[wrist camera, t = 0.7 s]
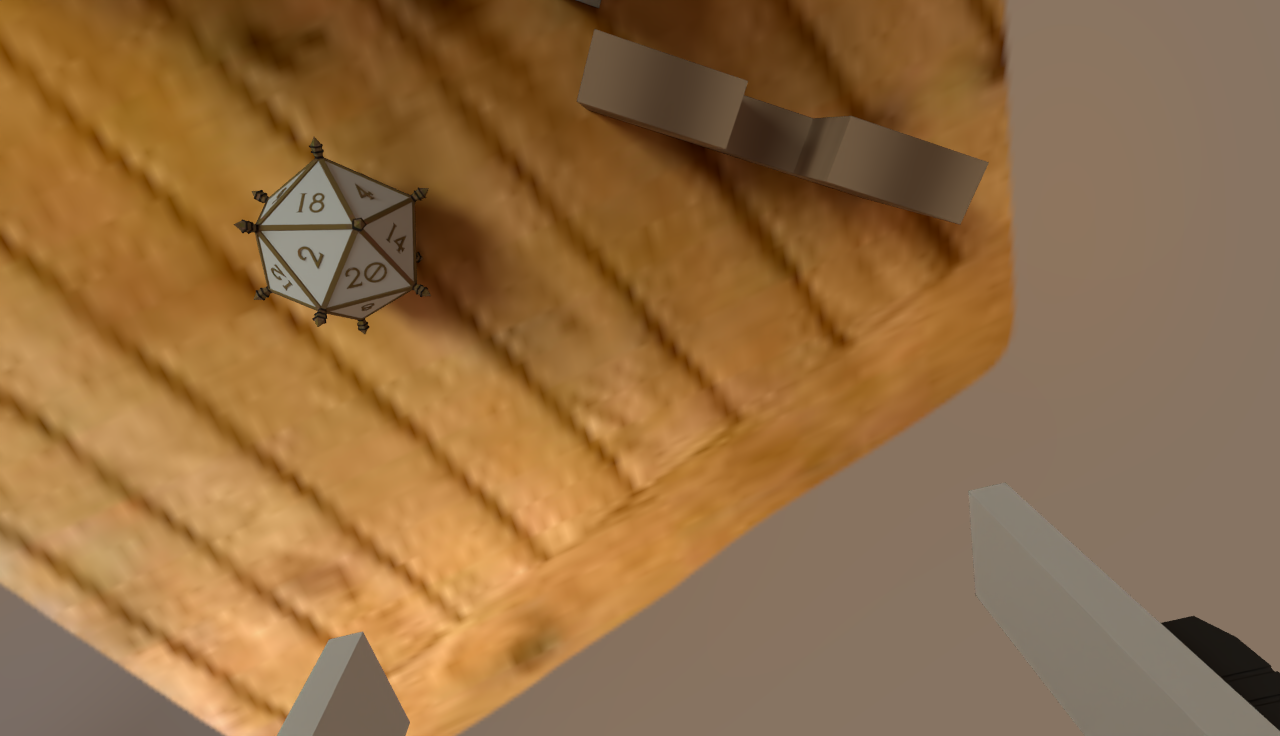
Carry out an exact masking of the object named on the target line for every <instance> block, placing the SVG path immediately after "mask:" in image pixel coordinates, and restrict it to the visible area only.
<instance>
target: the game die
mask: <svg viewBox="0 0 1280 736" xmlns="http://www.w3.org/2000/svg"><path fill="white" fill-rule="evenodd" d="M322 146H323V145H322V144H320V142H319V141H318V140H317V139H316V138H315V137H314V138H313V140H312V143H311V145H310V146H309V147H311V150H312V151H311V153H313V154H314V156H315V159H314V160H313V161H311V162H310V163H309V164H308V165H307V166H306V167H304V168H303V169H302V170H301V171H300V172H298V173H297V174H296V175H295V176H294V177H293V178H291V179H290V180H289V181H288V182H287V183H285V184H284V185H283V186H282V187H281V188H280V189H278V190H277V191H276V192H275V193H274V194H272V195H271V196H270V197H268V196H267V193H264V192H263V190H260V191H252V193H253V195H254V199H256V200H258V201H259V202H262V203H265V205H264V207H263V209H262V212H261V214H260V216H259V218H258V220H257V222H256V224H253V222H250V221H245V220H242V221H240V222H238V223H236V224H234V225H235V226H236V227H237V228H239V229H240V230H241V232H242V233H244V232H247V233H248V234H250V233H251V232H255V236H256V240H257V244H258V248H259V253H260V257H261V261H262V265H263V270H264V274H265V278H266V283H267V287H266V288H260V290H256V295H255V298H254V300H265V298H266V297H269V295H270V293H272V292H273V293H275V294H277V295H280V296H282V297H285V298H287V299H290V300H292V301H295V302H297V303H299V304H302V305H304V306H307V307H309V308H312V309H314V310H317V311H318V312H317V313H315V314H314V315H315V317H314V318H313V320H314V321H315V323H316V325H317V327H319V326H321V325H322V324H324V323H326V319H327V314H331V315H336V316H341V317H346V318H351V319H355V320H358V324H357V325H358V330H360V331H361V332H363V333H364V334H366V332H367V329H368V328H369V326H368V322H366V320H365V318H366V317H368V316H369V315H371V314H373V313H374V312H376V311H378V310H379V309H381V308H383V307H384V306H386V305H388V304H389V303H391V302H393V301H394V300H396V299H398V298H399V297H401V296H403V295H404V294H406V293H408V292H409V291H411V290H414V291H415V292H416V294H419V295H420V297H422V296H431V295H430V293H429V291H428V288H427V287H423V285H421V284H420V285H418V284H417V271H416V262H420V260H422V259H423V258H422V256H421V255H420V253H419V252H417V253H416V225H415V202H416V201H417V200H421V199H423V198H426V197H425V196H426V194H427V192H428V189H429V188H418V190H416V191H414V193H413V194H412V195H408V194H406V193H404V192H401V191H399V190H397V189H395V188H392V187H390V186H388V185H385V184H383V183H381V182H379V181H376V180H374V179H372V178H369V177H367V176H365V175H363V174H360V173H358V172H356V171H354V170H351V169H349V168H347V167H344V166H342V165H340V164H338V163H335V162H333V161H331V160H328V159H326V158H324V157H323V152H324V150H322Z"/></svg>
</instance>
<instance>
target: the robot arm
mask: <svg viewBox="0 0 1280 736" xmlns="http://www.w3.org/2000/svg"><path fill="white" fill-rule="evenodd" d="M968 493H969V494H968V495H969V509H970V524H971V538H972V552H973V567H974V582H975V595H976V596H977V598H978V599H979V600H980V601H981V603H982V604H983V605H984V607H985V608H986V609H987V610H988V612H989V613H990V614H991V616H992V617H993V618H994V619H995V621H996V622H997V623H998V625H999V626H1000V627H1001V628H1002V630H1003V631H1004V632H1005V634H1006V635H1007V636H1008V638H1009V639H1010V640H1011V641H1012V643H1013V644H1014V645H1015V647H1016V648H1017V649H1018V650H1019V652H1020V653H1021V654H1022V656H1023V657H1024V658H1025V659H1026V661H1027V662H1028V663H1029V665H1030V666H1031V667H1032V669H1033V670H1034V671H1035V672H1036V674H1037V675H1038V676H1039V678H1040V679H1041V680H1042V681H1043V683H1044V684H1045V685H1046V687H1047V688H1048V689H1049V690H1050V692H1051V693H1052V694H1053V696H1054V697H1055V698H1056V699H1057V701H1058V702H1059V703H1060V705H1061V706H1062V707H1063V708H1064V710H1065V711H1066V712H1067V714H1068V715H1069V716H1070V717H1071V719H1072V720H1073V721H1074V723H1075V724H1076V725H1077V727H1078V728H1079V729H1080V730H1081V732H1082V733H1083V734H1084V735H1085V736H1280V673H1279V672H1278V671H1277V672H1275V671H1273V670H1272V668H1271V665H1269V664H1268V663H1267V662H1266V661H1265V660H1263V659H1262V658H1261V657H1260V656H1258V655H1257V654H1256V653H1255V652H1254V651H1252V650H1251V649H1250V648H1249V647H1247V646H1246V645H1245V644H1244V643H1243V642H1241V641H1240V640H1239V639H1238V638H1236V637H1235V636H1233V635H1231V634H1229V633H1227V632H1225V631H1223V630H1221V629H1219V628H1217V627H1215V626H1213V625H1211V624H1208V623H1207V622H1205V621H1203V620H1201V619H1199V618H1197V617H1195V616H1191V617H1186V618H1182V619H1178V620H1173V621H1169V622H1164V623H1160V622H1159V621H1158V620H1157V619H1155V618H1154V617H1153V616H1152V615H1151V614H1150V613H1149V612H1148V611H1147V610H1145V609H1144V608H1143V607H1142V606H1141V605H1140V604H1139V603H1138V602H1136V601H1135V600H1134V599H1133V598H1132V597H1131V596H1130V595H1129V594H1128V593H1127V592H1126V591H1124V590H1123V589H1122V588H1121V587H1120V586H1119V585H1118V584H1117V583H1116V582H1115V581H1113V580H1112V579H1111V578H1110V577H1109V576H1108V575H1107V574H1106V573H1105V572H1104V571H1102V570H1101V569H1100V568H1099V567H1098V566H1097V565H1096V564H1095V563H1094V562H1093V561H1091V560H1090V559H1089V558H1088V557H1087V556H1086V555H1085V554H1084V553H1083V552H1082V551H1080V550H1079V549H1078V548H1077V547H1076V546H1075V545H1074V544H1073V543H1072V542H1070V541H1069V540H1068V539H1067V538H1066V537H1065V536H1064V535H1063V534H1061V532H1059V531H1058V530H1057V529H1056V528H1055V527H1054V526H1053V525H1052V524H1051V523H1049V522H1048V521H1047V520H1046V519H1045V518H1044V517H1043V516H1042V515H1041V514H1039V513H1038V512H1037V511H1036V510H1035V509H1034V508H1033V507H1032V506H1031V505H1030V504H1029V503H1027V502H1026V501H1025V500H1024V499H1023V498H1022V497H1021V496H1020V495H1019V494H1018V493H1016V492H1015V491H1014V490H1013V489H1012V488H1011V487H1010V486H1009V485H1008V484H1006V483H1000V484H996V485H992V486H987V487H983V488H979V489H975V490H971V491H968ZM409 723H410V721H409V719H408V718H407V716H406V714H405V712H404V710H403V708H402V706H401V704H400V702H399V700H398V698H397V696H396V694H395V693H394V691H393V689H392V687H391V685H390V683H389V681H388V679H387V677H386V675H385V673H384V671H383V669H382V667H381V666H380V664H379V662H378V660H377V658H376V656H375V654H374V652H373V650H372V648H371V646H370V644H369V642H368V641H367V639H366V637H365V635H364V633H363V632H359V633H355V634H351V635H346V636H342V637H338V638H333V639H329V641H328V643H327V644H326V646H325V648H324V650H323V652H322V654H321V655H320V657H319V659H318V661H317V663H316V665H315V666H314V668H313V670H312V672H311V674H310V676H309V678H308V679H307V681H306V683H305V685H304V687H303V689H302V690H301V692H300V694H299V696H298V698H297V700H296V701H295V703H294V705H293V707H292V709H291V711H290V712H289V714H288V716H287V718H286V720H285V722H284V724H283V725H282V727H281V729H280V731H279V733H278V735H277V736H405V735H406V732H407V729H408V726H409Z"/></svg>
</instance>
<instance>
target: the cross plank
mask: <svg viewBox="0 0 1280 736" xmlns="http://www.w3.org/2000/svg"><path fill="white" fill-rule="evenodd" d="M577 1H580V2H582V3H585V4H588V5H591V6H594V7H597V8H599V7H600V3H601V0H577Z"/></svg>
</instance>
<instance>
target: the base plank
mask: <svg viewBox="0 0 1280 736" xmlns="http://www.w3.org/2000/svg"><path fill="white" fill-rule="evenodd" d="M747 83H748V81H746V80H744V79H741V78H738V77H735V76H732V75H729V74H726V73H723V72H720V71H717V70H714V69H711V68H708V67H705V66H702V65H699V64H696V63H693V62H690V61H687V60H684V59H681V58H678V57H676V56H673V55H670V54H667V53H664V52H661V51H658V50H655V49H652V48H649V47H646V46H643V45H640V44H637V43H634V42H631V41H628V40H625V39H622V38H619V37H616V36H613V35H611V34H608V33H605V32H602V31H599V30H596V29H594V33H593V37H592V41H591V45H590V50H589V54H588V58H587V62H586V66H585V70H584V74H583V78H582V82H581V86H580V90H579V94H578V98H577V102H578V103H580V104H581V105H582V106H583V107H585V108H586V109H587V110H590V111H593V112H596V113H599V114H603V115H606V116H609V117H612V118H615V119H618V120H621V121H624V122H628V123H631V124H634V125H637V126H640V127H643V128H646V129H649V130H653V131H656V132H659V133H662V134H665V135H668V136H671V137H674V138H677V139H681V140H684V141H687V142H690V143H693V144H696V145H699V146H702V147H706V148H709V149H712V150H715V151H718V152H721V153H724V154H727V155H731V156H734V157H737V158H740V159H743V160H746V161H749V162H752V163H755V164H759V165H762V166H765V167H768V168H771V169H774V170H777V171H780V172H784V173H787V174H790V175H793V176H796V177H799V178H802V179H805V180H809V181H812V182H815V183H818V184H821V185H824V186H827V187H830V188H833V189H837V190H840V191H843V192H846V193H849V194H852V195H855V196H858V197H862V198H865V199H868V200H871V201H875V202H879V203H882V204H886V205H890V206H894V207H897V208H901V209H905V210H908V211H912V212H916V213H919V214H923V215H927V216H930V217H934V218H938V219H942V220H945V221H949V222H953V223H956V224H961V222H962V220H963V218H964V215H965V213H966V211H967V209H968V207H969V204H970V202H971V200H972V198H973V196H974V194H975V191H976V189H977V187H978V185H979V183H980V181H981V178H982V176H983V174H984V172H985V170H986V167H987V165H988V163H989V162H986V161H983V160H980V159H977V158H974V157H971V156H968V155H965V154H962V153H959V152H956V151H953V150H950V149H947V148H944V147H942V146H939V145H936V144H933V143H930V142H927V141H924V140H921V139H918V138H915V137H912V136H909V135H906V134H903V133H900V132H897V131H894V130H891V129H888V128H885V127H882V126H879V125H877V124H874V123H871V122H868V121H865V120H862V119H859V118H856V117H853V116H844V117H828V118H810V117H807V116H804V115H802V114H799V113H796V112H793V111H790V110H787V109H784V108H781V107H778V106H775V105H772V104H769V103H766V102H763V101H760V100H757V99H754V98H751V97H748V96H745V95H744V92H745V89H746V86H747Z"/></svg>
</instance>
